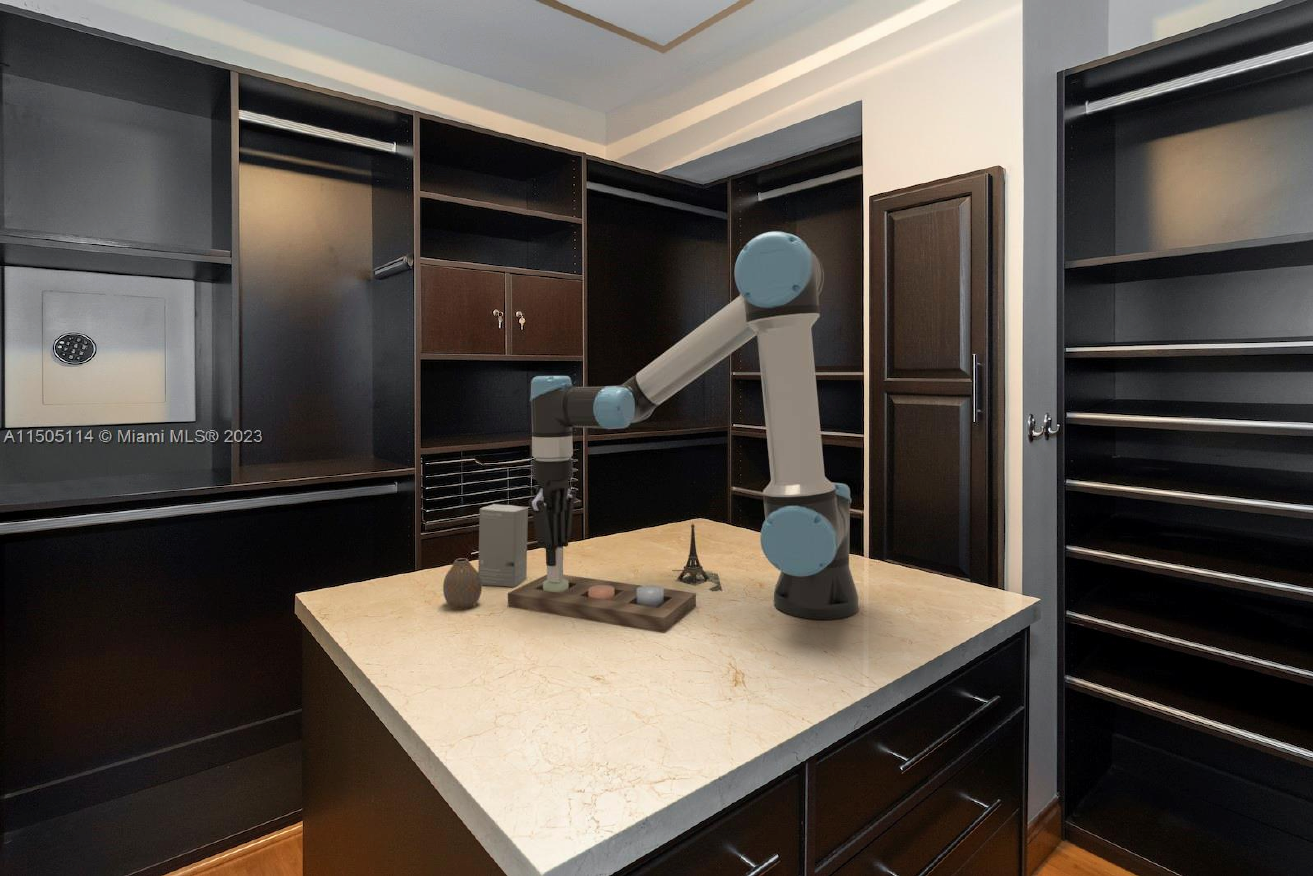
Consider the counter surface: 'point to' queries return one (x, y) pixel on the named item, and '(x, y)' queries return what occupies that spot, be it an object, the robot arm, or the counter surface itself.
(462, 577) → the vase
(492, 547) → the skincare box
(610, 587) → the button terracotta
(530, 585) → the button board
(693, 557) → the eiffel tower figurine
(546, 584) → the button sage
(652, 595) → the button slate
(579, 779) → the counter surface
